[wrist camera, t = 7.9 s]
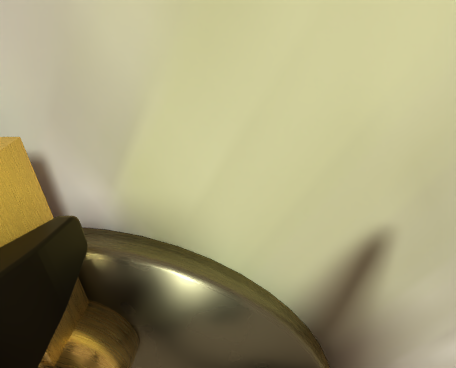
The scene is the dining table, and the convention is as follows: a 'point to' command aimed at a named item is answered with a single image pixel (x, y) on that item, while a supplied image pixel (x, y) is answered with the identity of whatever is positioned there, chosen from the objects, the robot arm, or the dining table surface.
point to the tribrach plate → (192, 307)
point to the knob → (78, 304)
